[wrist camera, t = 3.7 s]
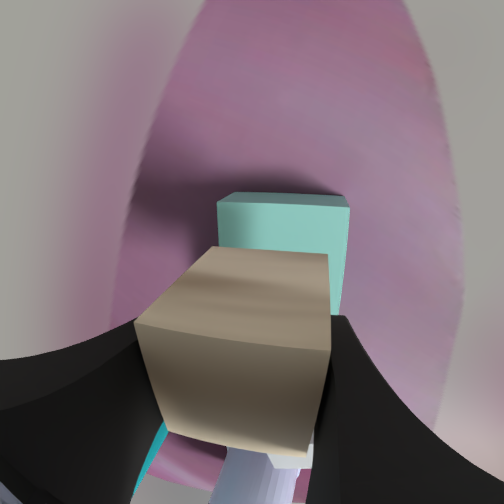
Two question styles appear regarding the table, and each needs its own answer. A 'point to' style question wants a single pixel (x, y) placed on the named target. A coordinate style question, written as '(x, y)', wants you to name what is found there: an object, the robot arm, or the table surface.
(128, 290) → the table surface
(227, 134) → the table surface
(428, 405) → the table surface
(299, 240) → the teal block
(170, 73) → the table surface
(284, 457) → the grey block
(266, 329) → the birch block
